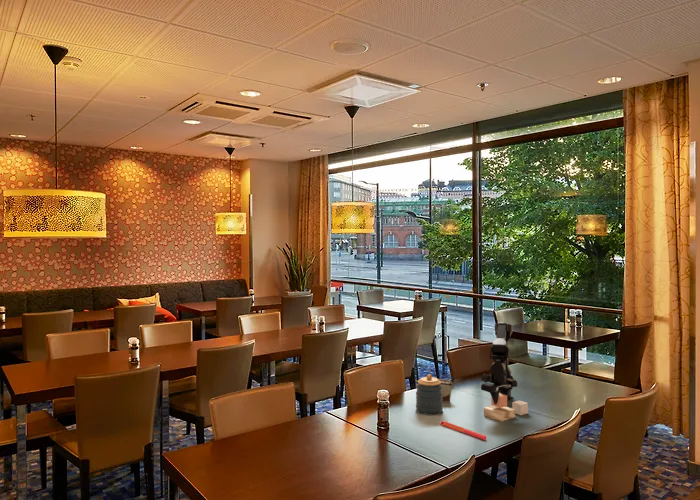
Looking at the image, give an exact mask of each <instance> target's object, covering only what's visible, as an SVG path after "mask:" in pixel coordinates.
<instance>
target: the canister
mask: <svg viewBox="0 0 700 500" xmlns="http://www.w3.org/2000/svg"><path fill="white" fill-rule="evenodd" d="M438 379H439V378H437V377H434V376H432V374H430V373H429V374H427V375H426V376H423V377H421V378H420V379H418V380H417V384H416V385H415V388H416V391H415V402H416V403H415V409H416V410H415V411H416V412H418V413H419V414H422V415H429V416H430V415H431V416H432V415H433V416H434V415H439V414H441V413H442V412H443V410H444V405H443V403H444V402H443V393H442V388H443V386H442V385H441V381H440V380H438Z"/></svg>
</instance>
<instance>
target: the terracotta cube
mask: <svg viewBox="0 0 700 500" xmlns="http://www.w3.org/2000/svg"><path fill="white" fill-rule="evenodd" d="M490 396H491V395H490ZM490 399H491V402H490V403H491V405H490V406H492V405H493V406H495V407H498V408H502V407H508V399H507V395H504V394H501V393H499V397H498V401H497V404H496V405H495V404H494V402H493V399H492V396H491V397H490Z"/></svg>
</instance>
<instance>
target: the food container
mask: <svg viewBox="0 0 700 500" xmlns="http://www.w3.org/2000/svg"><path fill="white" fill-rule="evenodd" d="M437 379H438V380H440V381H441V385H442V386H443V388H442V393H443V403H444V402H448V403H449V402H451V395H452V387H453V386H454V385H453V382H452V381H451V380H450V379H445V378H444V379H443V378H437Z"/></svg>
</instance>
